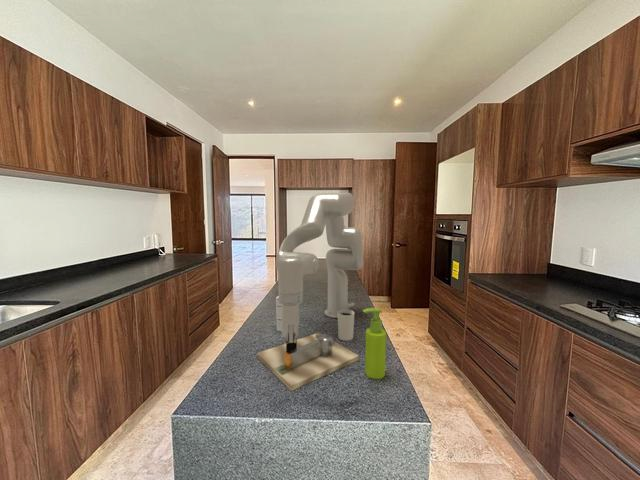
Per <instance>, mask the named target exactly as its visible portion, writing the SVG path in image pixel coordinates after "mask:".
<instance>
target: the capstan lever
mask: <svg viewBox="0 0 640 480" xmlns="http://www.w3.org/2000/svg"><path fill="white" fill-rule="evenodd" d="M315 334H316V333H315ZM320 334H322V335H320ZM320 334H316V338H317V340H316V341H313V342H311V343H308V344H306V345H303V346H301V347H298V348H296V349H294V350H291V351H289V352H285V369H291V368H292V367H294V366H297V365H299V364H301V363H303V362H305V361H307V360H310V359H312V358H314V357H316V356H318V355H320V356H330V355H331V354H332V346H334V345H335V342H336V341H334V340H333V336H332V335H330V334H327V333H324V334H323V333H320ZM332 340H333V341H332Z"/></svg>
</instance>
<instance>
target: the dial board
mask: <svg viewBox="0 0 640 480" xmlns="http://www.w3.org/2000/svg"><path fill="white" fill-rule="evenodd" d="M316 334H320V335H322V334H323V333H321V332H317V333H313V334H311V335H310V334H309V335H307V336H304V337H300V338H299V339H296V340H297V348H298V347H301V346H303V345H306V344H308V343H311V342H313V341H316V340H317V338H316ZM332 341H334V340H333V339H332ZM334 342H335V345H334V346H332V354H331V355H330V356H320V355H318V356H316V357H314V358H312V359H310V360H307V361H305V362H303V363H301V364H299V365H297V366H294V367H292V368H291V369H285V352H286V343H283V344H280V345H278V346H274V347H271V348H268V349H265V350H262V351H259V352H257V353H256V358H257V359H258V360H259V361H260V362H261V363H262V364H263V365H264V366H265V367H266V368H267V369H268V370H270V372H271V373H272V374H274V375H275V376H276V378H278V380H280V381H281V382H282V384H284V385H285V386H286V387H287V388H288V389H289V390H290V391H291V392H293V391H294V390H297V389H298V388H301V387H303V386H306V385H307V384H309V383H311V382H314V381H316V380H319V379H321V378H323V377H324V376H327V375H329V374H332V373H334V372H335V371H337V370H340V369H342V368H344V367H347V366H349V365H352V364H354V363H356V362H358V361H360V355H359V354H357V353H355V352H353V351H351V350H350V349H348V348H347V347H345V346H343V345H341V344H339V343H338V342H336V341H334Z"/></svg>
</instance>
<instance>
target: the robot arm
mask: <svg viewBox="0 0 640 480" xmlns="http://www.w3.org/2000/svg"><path fill="white" fill-rule="evenodd" d="M307 203H308V204H307V206H306V208H305V212H304V213H303V214H304V215H303V218H302V221H301V224H300V225H299V226H298V227H296V228H295V229H293V230H292V231H291V232H290V233H289V234H287V236H286V237H285V238H284V239H283V241H282V242H281V244H280V246H279V250H278V252H277V255H276V258H275V268H276V271H277V283H278V284H277V289H278V291H277V292H278V295H277V296H278V298H279V303H280V304H282V332H281V337H282V339H283V338H286V342H285V344H286V352H289V351H291V350H294V349H296V348H297V340H298V339H296V338H297V337H299V327H300V304H302V303H304V278H307V277H312V276H313V275H315V274H316V273H317V272H318V271H319V267H320V260H319V258H318V256H316V254H314V253H309V252H296V251H294V250H295V249H296V248H298V247H299V246H301V245H302V244H305V243H307V242H310V241H313V240H315V239H318V238H319V237H321V236H322V235H323V234H324V231H325V233H326V242H327V245H328V246H329V247H331V248H330V249H329V250H327V252H326V255H325V262H326V268H327V269H326V270H327V307H326V309H325V310H324V315H325V316H327V317H329V318H331V319H332V318H333V319H338V313H337V312H338V311H339V310H343V309H347V310H350V308H354V307H355V303H354V302H351V303H350V302H348V298H349V297H348V292H349V291H348V290H349V289H348V288H349V287H348V286H349V285H348V283H349V281H348V280H349V278H348V275H347V273H346V272H345V270H351V271H358V270H361V269H362V268H363V266H364V265H363V264H364V251H363V235H362V232H361V230H360V229H359V228H357V227H348V226H345V219H344V218H345V216H347V215H350V214H351V213H352V212H353V210H354V208H355V198H354V196H353V194H352V193H351V192H323V193H318V194H315V195H313V196H311V197H310V199H309V200H308V202H307Z"/></svg>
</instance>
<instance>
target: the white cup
mask: <svg viewBox="0 0 640 480" xmlns="http://www.w3.org/2000/svg"><path fill="white" fill-rule="evenodd" d="M337 313H338V318H337V332H338V333H337V335H338V339H339V340H341V341H347V342H348V341H352V340H353V339H354V327H355V311H354V310H352V309H349V310H347V309H343V310H339V311H338V312H337Z"/></svg>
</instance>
